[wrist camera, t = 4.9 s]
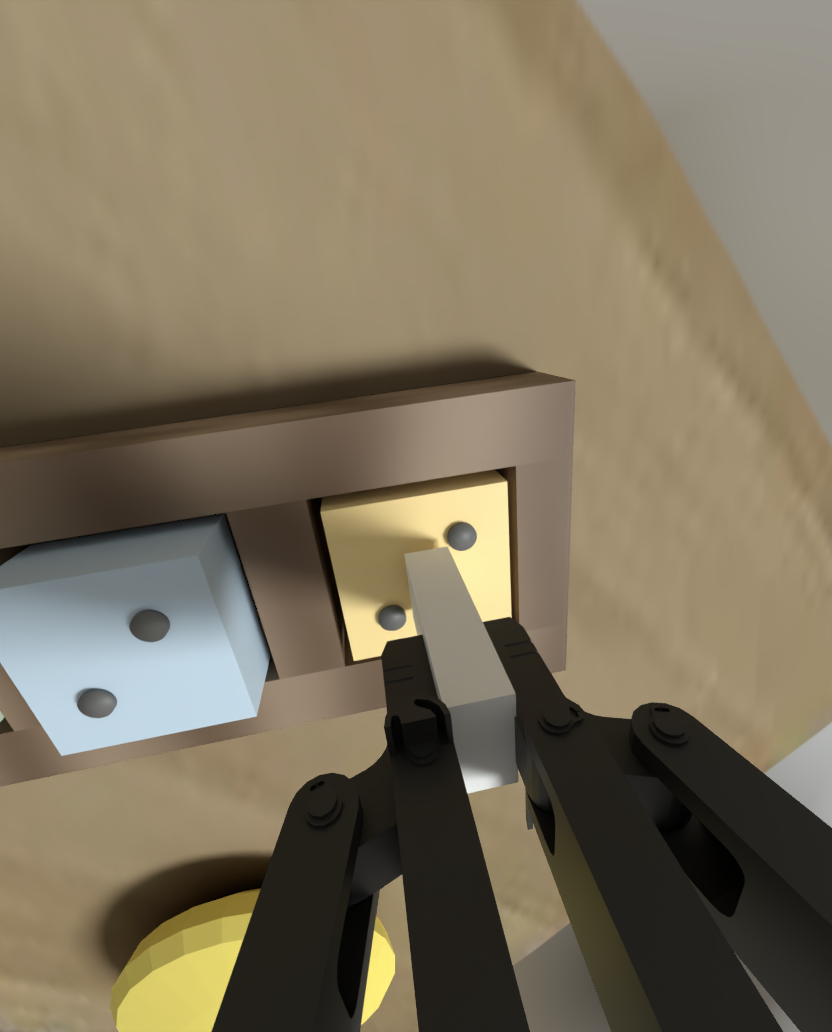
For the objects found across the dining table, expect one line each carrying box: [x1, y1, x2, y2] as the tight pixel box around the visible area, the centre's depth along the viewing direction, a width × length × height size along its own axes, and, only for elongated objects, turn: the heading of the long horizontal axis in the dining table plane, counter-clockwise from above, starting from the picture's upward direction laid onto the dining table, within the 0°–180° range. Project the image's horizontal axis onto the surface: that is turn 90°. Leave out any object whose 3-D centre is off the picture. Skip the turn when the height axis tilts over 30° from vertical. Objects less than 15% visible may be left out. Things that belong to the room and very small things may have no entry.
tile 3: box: [320, 469, 512, 661], centre depth 17 cm, size 6×6×3 cm
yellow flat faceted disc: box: [111, 888, 395, 1032], centre depth 25 cm, size 16×16×7 cm
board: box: [0, 372, 575, 786], centre depth 16 cm, size 30×12×3 cm, turn 97°
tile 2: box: [0, 514, 271, 756], centre depth 14 cm, size 6×6×3 cm
